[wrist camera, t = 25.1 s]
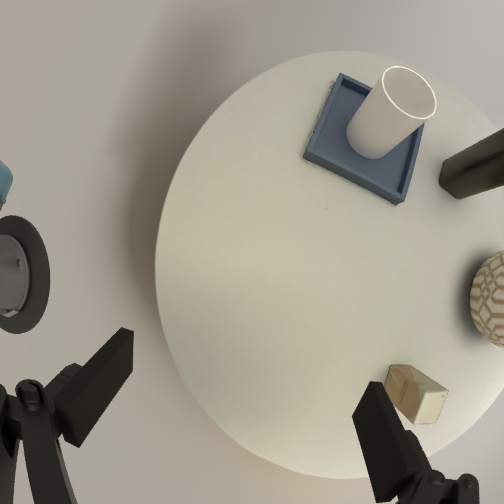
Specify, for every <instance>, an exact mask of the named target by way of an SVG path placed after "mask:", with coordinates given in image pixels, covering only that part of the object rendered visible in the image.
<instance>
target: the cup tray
mask: <svg viewBox="0 0 504 504" xmlns="http://www.w3.org/2000/svg"><path fill="white" fill-rule="evenodd" d="M372 89H373V88H371V87H369V86H367V85H365V84H363V83H361V82H359V81H357V80H355V79H353V78H351V77H349V76H346V75H344V74H342V73H339V76H338V78H337V80H336V82H335V84H334V87H333V89H332V91H331V94H330V96H329V98H328V101H327V103H326V105H325V108H324V110H323V112H322V115H321V117H320V119H319V121H318V124H317V126H316V128H315V131H314V133H313V135H312V138H311V140H310V142H309V145H308V147H307V149H306V151H305V154H304V156H303V158H305V159H307V160H309V161H311V162H313V163H316V164H318V165H320V166H322V167H324V168H326V169H328V170H330V171H332V172H334V173H337V174H339V175H341V176H343V177H345V178H347V179H349V180H351V181H353V182H354V183H356V184H358V185H360V186H362V187H364V188H366V189H368V190H370V191H372V192H374V193H375V194H377V195H379V196H381V197H383V198H385V199H386V200H388V201H390V202H392V203H394V204H395V205H397V204H399V203H401V202H404V201H405V198H406V194H407V191H408V187H409V184H410V180H411V177H412V173H413V169H414V165H415V161H416V157H417V153H418V149H419V145H420V141H421V136H422V132H423V127H424V123H423V124H422V125H421V126H419V127H418V128H417V129H416V130H415V131H413V132H412V133H411V134H410V135H408V136H407V137H406V138H405V139H404V140H402V141H401V142H400V143H399V144H398V145H396V146H395V147H394V148H393V149H391V150H390V151H389V152H388V153H387V154H385V155H384V156H383V157H381V158H378V159H369V158H365V157H363V156H361V155H359V154H358V153H357V152H356V151H355V150H354V149H353V148H352V147H351V146H350V144H349V142H348V140H347V136H346V129H347V125H348V123H349V122H350V120H351V119H352V117H353V116H354V115H355V113H356V112H357V110H358V109H359V107H360V106H361V104H362V103H363V102H364V100H365V99H366V97H367V96H368V94H369V93H370V91H371V90H372Z"/></svg>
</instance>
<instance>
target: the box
mask: <svg viewBox="0 0 504 504" xmlns="http://www.w3.org/2000/svg"><path fill="white" fill-rule="evenodd" d="M384 388H385V390H386V392H387V394H388V396H389V398H390V400H391V402H392V403H393V404H394V405H395V406H396V407H397V408H398V409H399V411H400V412H402V414H403V415H404V416H405V417H406V418H407V419H408V420H409V421H410V422H411V423H412V424H413V425H420V424H433V423H436V422H437V421H438V418H439V416H440V413H441V411H442V409H443V406H444V403H445V400H446V398H447V395H448V392H449V390H447V389H446V388H444V387H443V386H441V385H440V384H438V383H437V382H435V381H434V380H432V379H431V378H429V377H428V376H426V375H425V374H423V373H422V372H420V371H419V370H417V369H416V368H414V367H413V366H408V365H391V367H390V370H389V374H388V377H387V380H386V383H385V386H384Z"/></svg>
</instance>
